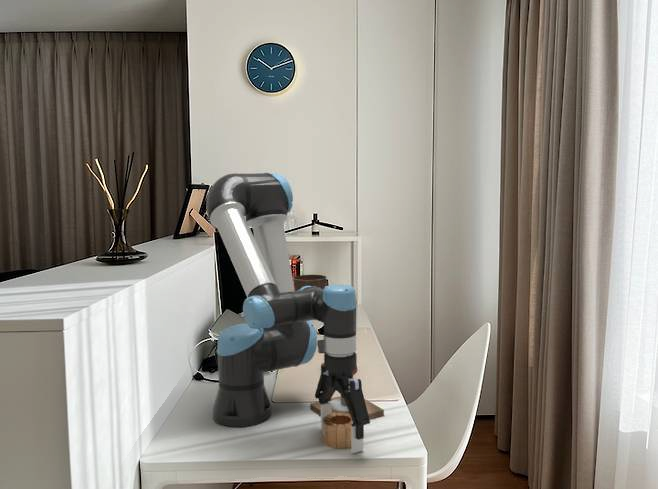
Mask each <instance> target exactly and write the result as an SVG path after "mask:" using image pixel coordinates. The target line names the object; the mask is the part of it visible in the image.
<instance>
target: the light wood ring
mask: <svg viewBox="0 0 658 489" xmlns="http://www.w3.org/2000/svg"><path fill="white" fill-rule="evenodd" d="M351 424H353V421H352V418H351V415H350V414H348V413H333V414H329V415H327V416H325V417H324V418H323V431H322V438H323V439H322V441H323V444H325V445H326V446H327V447H330V448H334V449H348V448H351Z"/></svg>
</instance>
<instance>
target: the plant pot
mask: <svg viewBox="0 0 658 489" xmlns="http://www.w3.org/2000/svg"><path fill="white" fill-rule="evenodd" d="M292 278H293V284H294V290H295V291H298V290H299V289H301V288H302V287H305V286H316V287H319V288H321V289H324V288H325V287H326V285H327V284H326V283H327V276H326V275H322V274H300V275H296V276H292Z"/></svg>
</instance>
